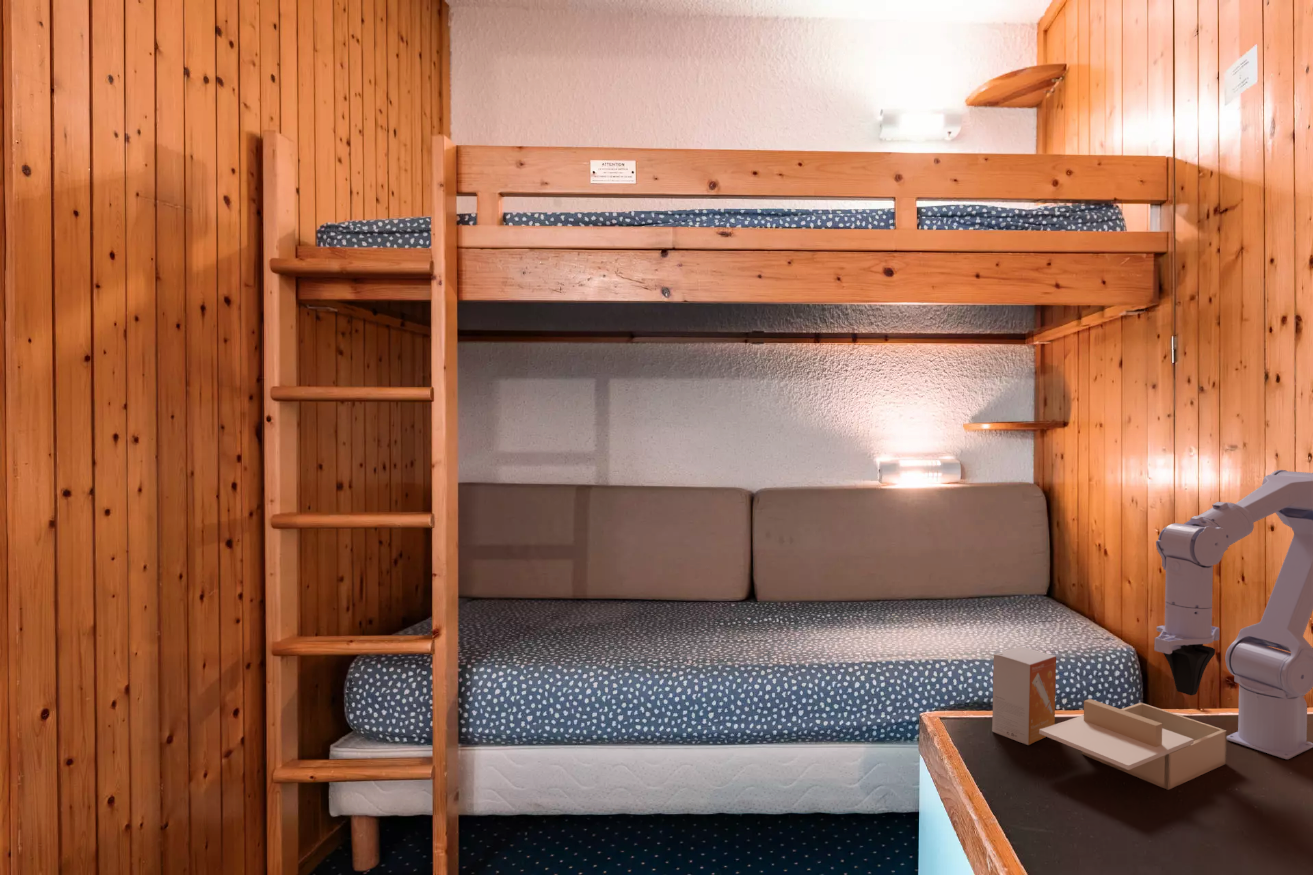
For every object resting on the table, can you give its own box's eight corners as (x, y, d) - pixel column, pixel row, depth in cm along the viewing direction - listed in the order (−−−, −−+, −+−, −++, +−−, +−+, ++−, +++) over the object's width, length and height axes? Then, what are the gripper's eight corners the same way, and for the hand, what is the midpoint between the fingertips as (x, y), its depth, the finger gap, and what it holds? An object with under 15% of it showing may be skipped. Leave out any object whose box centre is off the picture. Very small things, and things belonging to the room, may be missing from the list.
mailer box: (1140, 732, 117) (1140, 702, 117) (1226, 763, 107) (1226, 730, 107) (1081, 754, 110) (1082, 721, 110) (1168, 789, 99) (1168, 754, 99)
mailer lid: (1104, 711, 113) (1104, 689, 113) (1193, 743, 102) (1194, 718, 102) (1039, 733, 105) (1039, 709, 105) (1128, 769, 94) (1128, 742, 94)
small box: (1029, 746, 112) (1030, 664, 112) (991, 731, 118) (992, 653, 117) (1056, 734, 117) (1057, 655, 117) (1018, 720, 122) (1019, 644, 122)
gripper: (1184, 592, 115) (1182, 676, 116) (1133, 603, 108) (1131, 692, 109) (1235, 602, 109) (1234, 690, 109) (1185, 614, 102) (1183, 708, 103)
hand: (1186, 692), depth 109 cm, fingers closed
